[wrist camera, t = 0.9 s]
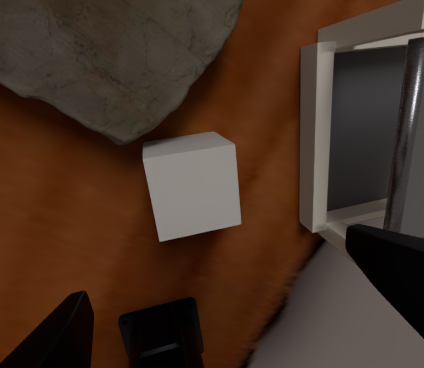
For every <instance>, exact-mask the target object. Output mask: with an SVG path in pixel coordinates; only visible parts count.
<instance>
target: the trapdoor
mask: <svg viewBox="0 0 424 368" xmlns="http://www.w3.org/2000/svg"><path fill="white" fill-rule="evenodd" d="M383 229H384V230H389V231H393V232H398V233H402V234H407V235H411V236H416V237H420V238H424V37H420V38H414V39H409V40H408V46H407V54H406V61H405V69H404V76H403V84H402V91H401V99H400V106H399V113H398V121H397V128H396V136H395V143H394V151H393V158H392V166H391V173H390V181H389V188H388V196H387V203H386V211H385V219H384V226H383Z"/></svg>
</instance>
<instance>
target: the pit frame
mask: <svg viewBox="0 0 424 368" xmlns="http://www.w3.org/2000/svg"><path fill="white" fill-rule="evenodd" d="M423 31H424V0H401V1H398V2H396V3H393V4H390V5H387V6H384V7H381V8H379V9H376V10H373V11H370V12H367V13H364V14H362V15H359V16H356V17H353V18H350V19H347V20H345V21H342V22H339V23H336V24H333V25H330V26H327V27H325V28H322V29H319V30H318V43H315V44H312V45H308V46H304V47H301V80H300V204H299V222H300V223H301V224H302V225H304V226H305V227H306V228H307V229H308V230H310V231H311V232H312V233H314V232H317V233H318V234H319V235H321V236H322V237H323V238H324V239H326V240H327V241H328V242H329V243H330V244H332V245H333V246H334V247H335V248H336V249H338V250H339V251H340V252H341V253H343V254H344V255H345V256H346V257H347V258H349V259H350V260H351V261H353V262H354V260H353V259H352V258H351V257H350V255H349V254H348V253H347V251H346V248H345V239H346V229H347V227H348V224H352V223H357V222H361V221H365V220H369V219H374V218H378V217H382V216H385V211H386V203H387V196H388V188H389V181H390V173H391V166H392V158H393V151H394V143H395V136H396V128H397V121H398V113H399V106H400V99H401V91H402V84H403V76H404V69H405V61H406V54H407V46H408V40H409V39H414V38H420V37H424V33H419V32H423ZM414 33H417V34H414ZM354 263H355V262H354ZM355 264H356V263H355ZM356 265H357V264H356ZM357 266H358V265H357Z"/></svg>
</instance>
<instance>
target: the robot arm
mask: <svg viewBox="0 0 424 368" xmlns="http://www.w3.org/2000/svg"><path fill="white" fill-rule="evenodd" d="M345 248H346V251H347V253H348V254H349V255H350V257H351V258H352V259H353V260H354V262H355V263H356V264H357V265H358V267H359V268H360V269H361V270H362V271H363V273H364V274H365V275H366V277H367V278H368V279H369V281H370V282H371V283H372V284H373V285H374V286H375V288H376V289H377V290H378V291H379V292H380V293H381V294H382V295H383V296H384V297H385V298H386V300H387V301H388V302H389V303H390V304H391V305H392V306H393V307H394V308H395V309H396V310H397V311H398V312H399V313H400V314H401V315H402V316H403V317H404V318H405V320H406V321H407V322H408V323H409V324H410V325H411V326H412V327H413V328H414V329H415V330H416V331H417V332H418V333H419V334H420V335H421V336H422V337H423V339H424V238H420V237H416V236H411V235H407V234H402V233H398V232H393V231H389V230H384V229H379V228H375V227H371V226H366V225H362V224H355V225H351V226H348V227H347V229H346V239H345ZM189 303H192V304H189ZM124 320H126V321H124ZM118 325H119V328H120V331H121V334H122V338H123V341H124V344H125V347H126V351H127V354H128V357H129V367H128V368H204V364H203V359H202V355H201V354H202V353H203V351H204V347H203V341H202V335H201V329H200V323H199V317H198V311H197V305H196V300H195V299H194V298H193V297H189V298H185V299H181V300H177V301H173V302H169V303H166V304H162V305H158V306H154V307H150V308H146V309H143V310H139V311H135V312H131V313H127V314H123V315H121V316H120V317H119V322H118ZM93 327H94V312H93V309H92V306H91V303H90V300H89V297H88V294H87V293H86V291H80V292H75V293H72V294H70V295H69V296H68V297H67V298H66V299H65V300H64V301H63V302H62V303H61V304H60V305H59V306H58V307H57V308H56V309H55V310H54V311H53V312H52V313H51V314H50V315H49V316H48V317H46V318H45V319H44V320H43V321H42V322H41V323H40V324H39V325H38V326H37V327H36V328H35V329H34V330H33V331H32V332H31V333H30V334H29V335H28V336H27V337H26V338H25V339H24V340H23V341H22V342H21V343H20V344H19V345H18V346H17V347H16V348H15V349H14V350H13V351H12V352H11V353H10V354H9V355H8V356H7V357H6V358H5V359H4V360H3V361H2V362H1V363H0V368H90V366H91V354H92V341H93Z"/></svg>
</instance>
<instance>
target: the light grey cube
mask: <svg viewBox="0 0 424 368" xmlns="http://www.w3.org/2000/svg"><path fill="white" fill-rule="evenodd" d="M143 163H144V168H145V173H146V178H147V183H148V187H149V192H150V197H151V202H152V207H153V212H154V217H155V222H156V226H157V231H158V236H159V241H160V242H162V241H166V240H171V239H175V238H180V237H185V236H189V235H194V234H198V233H203V232H207V231H212V230H217V229H221V228H226V227H230V226H235V225H240V224H241V214H240V202H239V189H238V176H237V163H236V150H235V144H234V143H232V142H231V141H229V140H227V139H225V138H224V137H222V136H220V135H219V134H217V133H215V132H208V133H201V134H194V135H188V136H181V137H174V138H167V139H161V140H154V141H147V142H143Z"/></svg>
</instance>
